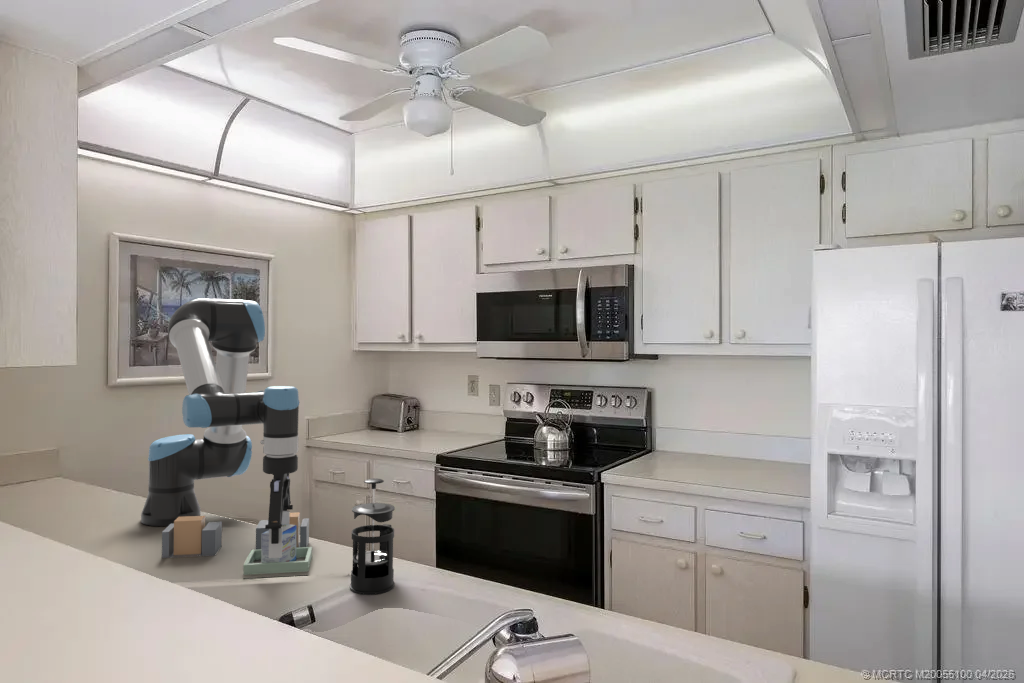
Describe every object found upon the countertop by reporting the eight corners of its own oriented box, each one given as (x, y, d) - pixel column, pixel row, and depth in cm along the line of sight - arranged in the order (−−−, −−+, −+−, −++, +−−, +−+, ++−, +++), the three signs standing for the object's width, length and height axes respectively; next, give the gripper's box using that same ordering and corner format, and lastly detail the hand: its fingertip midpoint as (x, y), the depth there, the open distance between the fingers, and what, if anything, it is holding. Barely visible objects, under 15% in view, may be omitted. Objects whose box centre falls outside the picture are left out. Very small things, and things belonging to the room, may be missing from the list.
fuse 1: (178, 549, 164) (178, 516, 164) (204, 548, 165) (205, 515, 165) (173, 555, 160) (173, 521, 160) (200, 553, 161) (201, 520, 161)
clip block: (170, 552, 165) (170, 523, 165) (308, 545, 171) (309, 518, 171) (161, 562, 158) (162, 532, 158) (306, 555, 165) (306, 526, 164)
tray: (251, 562, 158) (251, 549, 158) (312, 559, 161) (312, 546, 161) (243, 579, 148) (243, 565, 148) (308, 575, 151) (308, 561, 151)
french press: (378, 598, 139) (380, 486, 138) (339, 592, 142) (340, 482, 141) (406, 579, 150) (407, 475, 149) (369, 573, 153) (370, 471, 153)
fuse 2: (274, 545, 168) (274, 513, 168) (299, 544, 169) (299, 512, 169) (271, 550, 164) (272, 517, 164) (297, 549, 166) (298, 516, 165)
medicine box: (278, 573, 150) (279, 534, 150) (260, 571, 151) (260, 532, 151) (296, 561, 158) (297, 524, 158) (279, 559, 159) (279, 523, 159)
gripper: (271, 445, 166) (269, 532, 166) (254, 465, 141) (252, 567, 142) (303, 445, 167) (301, 530, 168) (291, 464, 143) (290, 565, 143)
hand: (279, 547), depth 155 cm, fingers open, 13 cm apart
